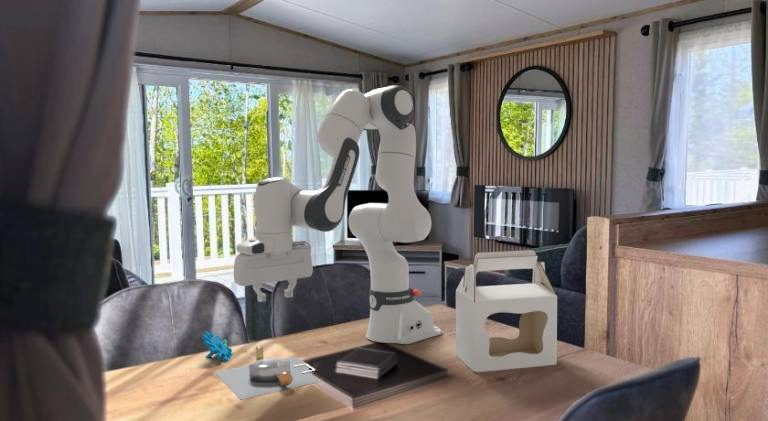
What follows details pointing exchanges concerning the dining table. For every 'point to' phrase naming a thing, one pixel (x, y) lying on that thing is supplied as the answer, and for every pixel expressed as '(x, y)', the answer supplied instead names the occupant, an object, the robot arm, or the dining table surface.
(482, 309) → the gable box
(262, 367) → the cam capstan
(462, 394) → the dining table surface
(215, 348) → the gear
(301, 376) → the grey square plate
